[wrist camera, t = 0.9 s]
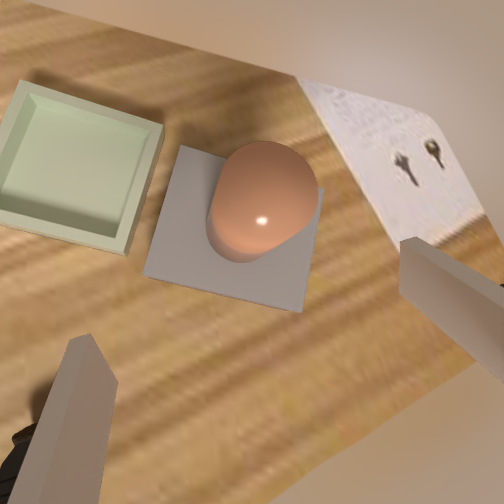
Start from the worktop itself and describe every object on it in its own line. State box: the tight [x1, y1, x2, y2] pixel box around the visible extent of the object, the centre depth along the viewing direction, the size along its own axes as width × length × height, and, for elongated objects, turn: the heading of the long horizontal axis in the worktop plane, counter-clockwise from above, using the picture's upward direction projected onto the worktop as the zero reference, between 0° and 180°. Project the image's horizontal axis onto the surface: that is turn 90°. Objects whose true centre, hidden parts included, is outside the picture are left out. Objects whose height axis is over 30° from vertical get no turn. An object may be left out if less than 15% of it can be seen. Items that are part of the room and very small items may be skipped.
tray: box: [0, 79, 164, 256], centre depth 31 cm, size 13×13×2 cm
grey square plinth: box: [142, 145, 324, 313], centre depth 32 cm, size 14×12×4 cm
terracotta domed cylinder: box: [206, 141, 318, 263], centre depth 25 cm, size 6×6×10 cm
